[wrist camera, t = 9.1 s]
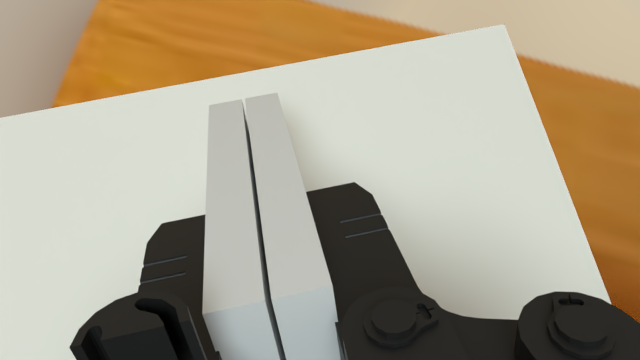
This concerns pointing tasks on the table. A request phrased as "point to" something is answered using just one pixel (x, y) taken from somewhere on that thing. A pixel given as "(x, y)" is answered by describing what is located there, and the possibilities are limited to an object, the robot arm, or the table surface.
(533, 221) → the front flap
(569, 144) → the table surface
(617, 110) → the table surface
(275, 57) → the table surface
